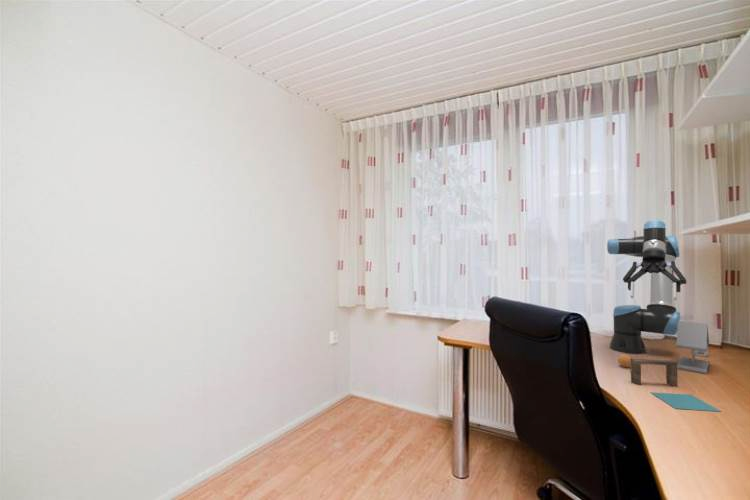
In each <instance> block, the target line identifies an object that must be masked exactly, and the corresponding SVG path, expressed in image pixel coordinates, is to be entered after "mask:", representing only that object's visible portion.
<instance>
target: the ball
mask: <svg viewBox="0 0 750 500" xmlns="http://www.w3.org/2000/svg"><path fill="white" fill-rule="evenodd" d="M631 359H633V358H632V357H631V356H630V355H628V354H620V355H619V356H618V357H617V362H618V364H619V365H620V366H621V367H623V368H631Z"/></svg>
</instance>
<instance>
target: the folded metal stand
mask: <svg viewBox="0 0 750 500" xmlns="http://www.w3.org/2000/svg"><path fill="white" fill-rule="evenodd" d="M709 335H710V334H709V327H708V323H703V322H695V321H694V322H692V321H684V320H680V321H679V322H678V331H677V333H676V343H675V344H676V345H675V347H676V348H679V349H685V350H691V357H686V356H680V359H679V360H678V362H677V370H682V371H683V370H684V371H686V372H687V371H688V372H695V373H697V374H699V373H700V374H705V375H708V368H709V366H710V364H711V363H710V360H705V359H704V360H703V359H697V358H695V357H696V355H695V350H699V351H705V352H707V347H706V345H707V344H708V345H709V344H710V338H709V337H710V336H709Z"/></svg>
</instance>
